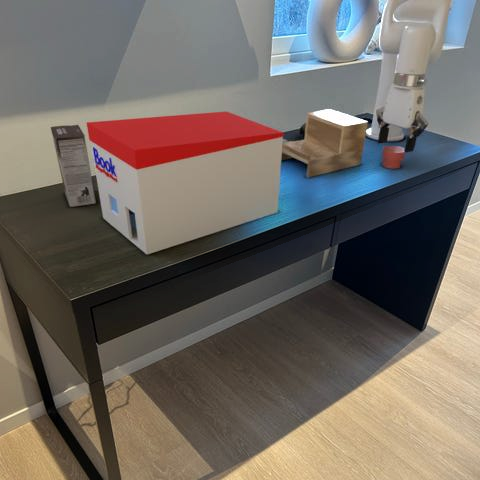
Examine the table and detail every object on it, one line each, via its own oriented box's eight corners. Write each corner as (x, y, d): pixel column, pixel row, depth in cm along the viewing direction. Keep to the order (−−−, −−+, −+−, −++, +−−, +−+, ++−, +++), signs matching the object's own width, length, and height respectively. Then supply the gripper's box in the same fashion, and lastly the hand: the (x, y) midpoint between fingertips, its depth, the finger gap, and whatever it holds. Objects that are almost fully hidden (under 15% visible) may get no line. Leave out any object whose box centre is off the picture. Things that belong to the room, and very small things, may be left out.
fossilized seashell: (330, 133, 156) (321, 130, 165) (321, 114, 153) (312, 112, 162) (310, 146, 157) (302, 142, 166) (301, 128, 154) (293, 125, 163)
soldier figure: (284, 144, 157) (305, 143, 147) (276, 157, 157) (296, 156, 147) (268, 128, 153) (288, 125, 143) (260, 141, 153) (280, 139, 143)
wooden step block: (324, 149, 151) (329, 108, 144) (360, 164, 141) (368, 121, 133) (273, 161, 142) (276, 118, 135) (308, 177, 132) (313, 132, 124)
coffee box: (64, 193, 120) (49, 126, 111) (90, 189, 123) (78, 123, 113) (69, 207, 114) (54, 137, 104) (96, 203, 116) (85, 134, 106)
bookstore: (101, 218, 110) (85, 122, 97) (226, 184, 127) (226, 99, 114) (145, 255, 96) (133, 150, 84) (278, 212, 114) (284, 119, 101)
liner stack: (390, 160, 144) (393, 144, 141) (406, 166, 140) (410, 150, 137) (375, 164, 141) (378, 147, 138) (391, 170, 137) (395, 153, 134)
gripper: (445, 84, 123) (428, 153, 133) (393, 74, 134) (381, 138, 144) (426, 87, 119) (410, 157, 129) (374, 76, 131) (363, 141, 141)
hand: (395, 147), depth 137 cm, fingers open, 9 cm apart
